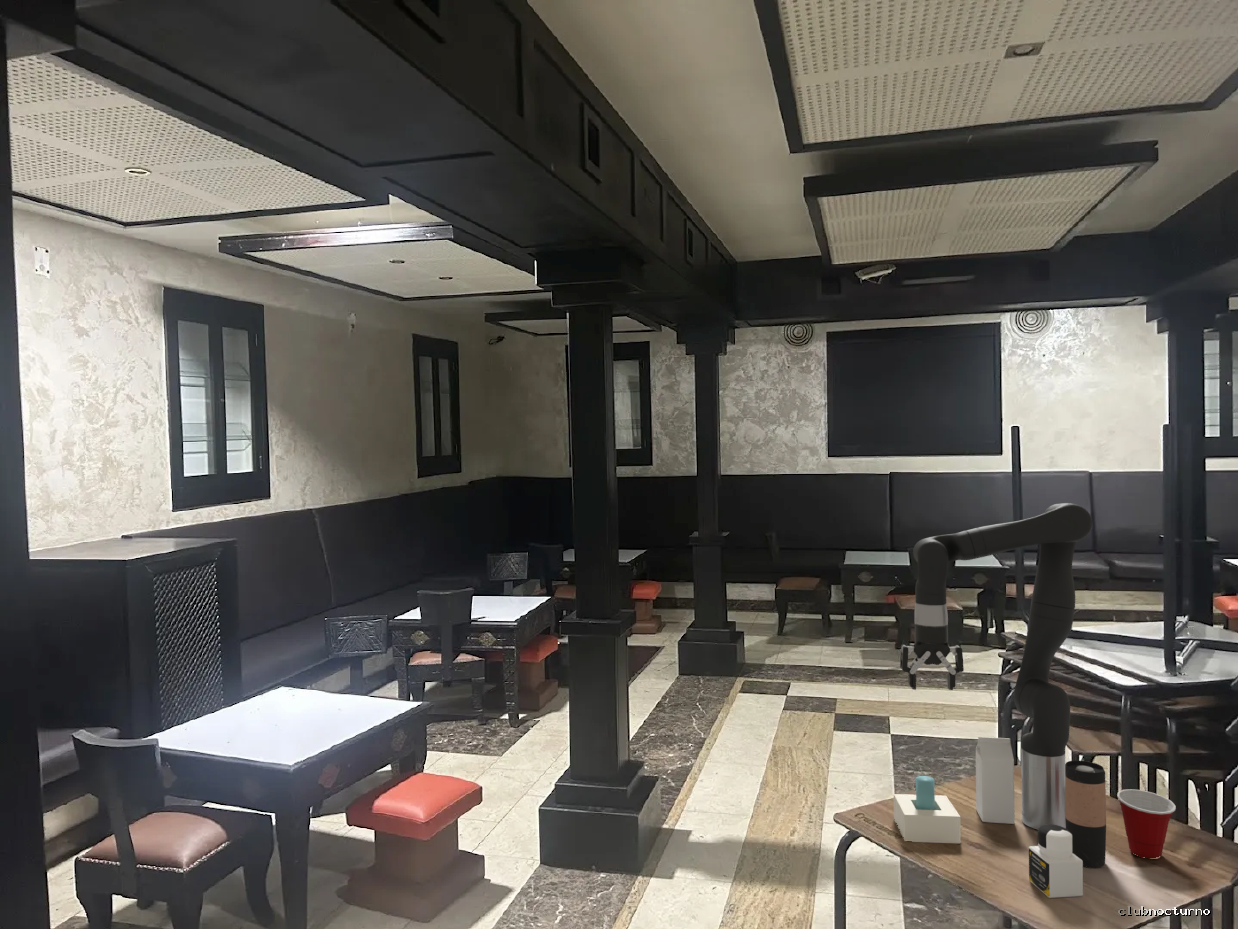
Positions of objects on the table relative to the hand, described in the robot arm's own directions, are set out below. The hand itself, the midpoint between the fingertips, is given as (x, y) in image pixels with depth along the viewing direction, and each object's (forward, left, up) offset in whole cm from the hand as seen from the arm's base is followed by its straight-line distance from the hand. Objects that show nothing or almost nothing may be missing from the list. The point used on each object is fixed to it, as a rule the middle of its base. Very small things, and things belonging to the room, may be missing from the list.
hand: (931, 689), depth 207 cm
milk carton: (-14, +1, -30) cm, 33 cm away
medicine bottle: (-15, +35, -30) cm, 49 cm away
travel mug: (-26, +22, -30) cm, 46 cm away
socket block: (+4, +10, -30) cm, 32 cm away
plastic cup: (-40, +18, -30) cm, 53 cm away
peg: (+4, +10, -30) cm, 32 cm away
